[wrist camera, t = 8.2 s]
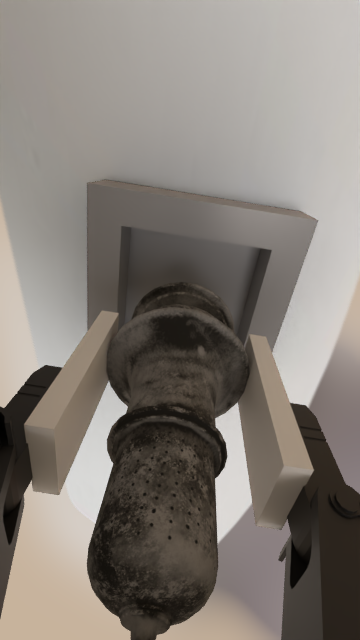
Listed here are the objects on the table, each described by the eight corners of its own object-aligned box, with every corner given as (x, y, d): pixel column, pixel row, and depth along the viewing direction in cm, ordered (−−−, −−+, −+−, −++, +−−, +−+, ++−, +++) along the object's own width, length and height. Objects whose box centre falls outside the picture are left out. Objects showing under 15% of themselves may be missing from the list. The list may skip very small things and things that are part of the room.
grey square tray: (104, 179, 18) (87, 182, 15) (300, 211, 18) (318, 220, 15) (101, 345, 23) (87, 368, 20) (250, 368, 23) (256, 395, 20)
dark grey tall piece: (164, 390, 17) (103, 747, 7) (102, 310, 15) (-128, 648, 5) (259, 350, 16) (375, 741, 5) (204, 253, 14) (209, 579, 3)
